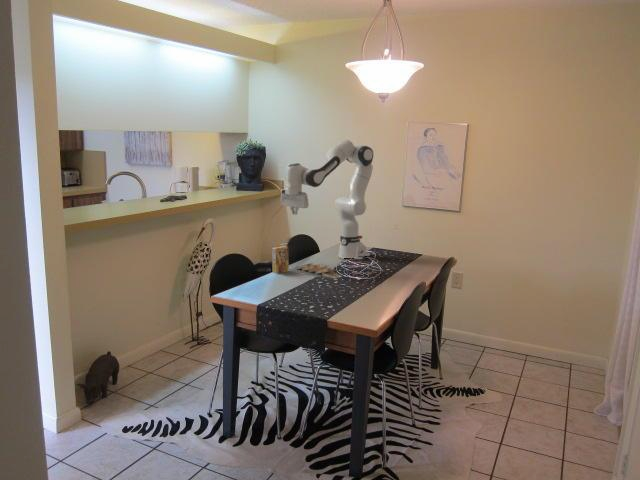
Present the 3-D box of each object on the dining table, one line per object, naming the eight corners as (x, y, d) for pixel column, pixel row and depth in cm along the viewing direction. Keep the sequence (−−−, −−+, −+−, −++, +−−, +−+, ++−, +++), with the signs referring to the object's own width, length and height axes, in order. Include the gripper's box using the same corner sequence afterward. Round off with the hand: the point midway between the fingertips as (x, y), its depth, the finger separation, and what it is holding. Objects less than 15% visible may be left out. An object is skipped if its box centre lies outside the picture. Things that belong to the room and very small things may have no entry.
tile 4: (321, 269, 292) (333, 266, 285) (321, 272, 292) (334, 269, 285) (314, 271, 288) (327, 268, 281) (315, 274, 288) (328, 271, 281)
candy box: (284, 271, 298) (284, 245, 295) (289, 272, 295) (288, 246, 292) (272, 274, 293) (271, 247, 290) (276, 275, 289) (276, 249, 286)
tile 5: (328, 270, 288) (341, 276, 282) (327, 273, 289) (341, 279, 283) (322, 272, 285) (336, 278, 278) (321, 275, 285) (335, 280, 279)
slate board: (302, 267, 307) (302, 265, 306) (332, 274, 291) (332, 272, 291) (287, 271, 298) (287, 269, 298) (318, 279, 282) (318, 277, 282)
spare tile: (314, 267, 295) (326, 265, 288) (314, 270, 295) (327, 268, 288) (308, 269, 292) (320, 267, 285) (308, 272, 292) (321, 269, 285)
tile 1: (301, 265, 302) (313, 262, 295) (302, 267, 302) (314, 265, 295) (295, 266, 298) (307, 264, 291) (296, 269, 298) (308, 266, 291)
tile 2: (307, 266, 299) (319, 263, 292) (308, 269, 298) (320, 266, 292) (301, 268, 295) (313, 265, 288) (302, 270, 295) (314, 268, 288)
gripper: (310, 192, 300) (310, 215, 303) (286, 189, 313) (286, 212, 316) (303, 193, 295) (303, 216, 298) (278, 190, 309) (279, 213, 311)
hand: (294, 214), depth 307 cm, fingers closed
